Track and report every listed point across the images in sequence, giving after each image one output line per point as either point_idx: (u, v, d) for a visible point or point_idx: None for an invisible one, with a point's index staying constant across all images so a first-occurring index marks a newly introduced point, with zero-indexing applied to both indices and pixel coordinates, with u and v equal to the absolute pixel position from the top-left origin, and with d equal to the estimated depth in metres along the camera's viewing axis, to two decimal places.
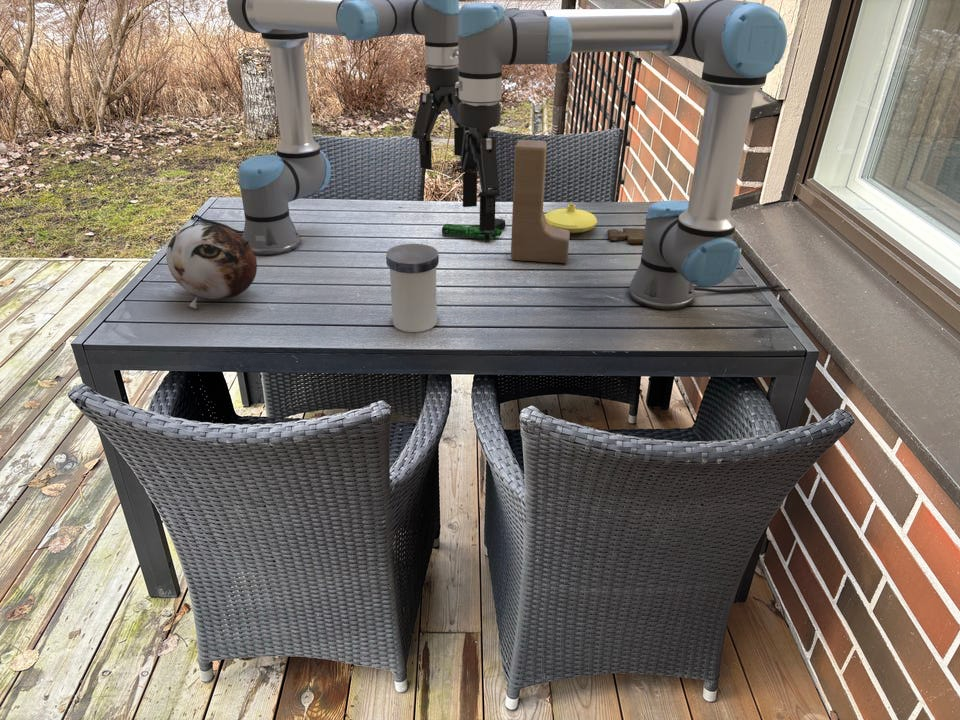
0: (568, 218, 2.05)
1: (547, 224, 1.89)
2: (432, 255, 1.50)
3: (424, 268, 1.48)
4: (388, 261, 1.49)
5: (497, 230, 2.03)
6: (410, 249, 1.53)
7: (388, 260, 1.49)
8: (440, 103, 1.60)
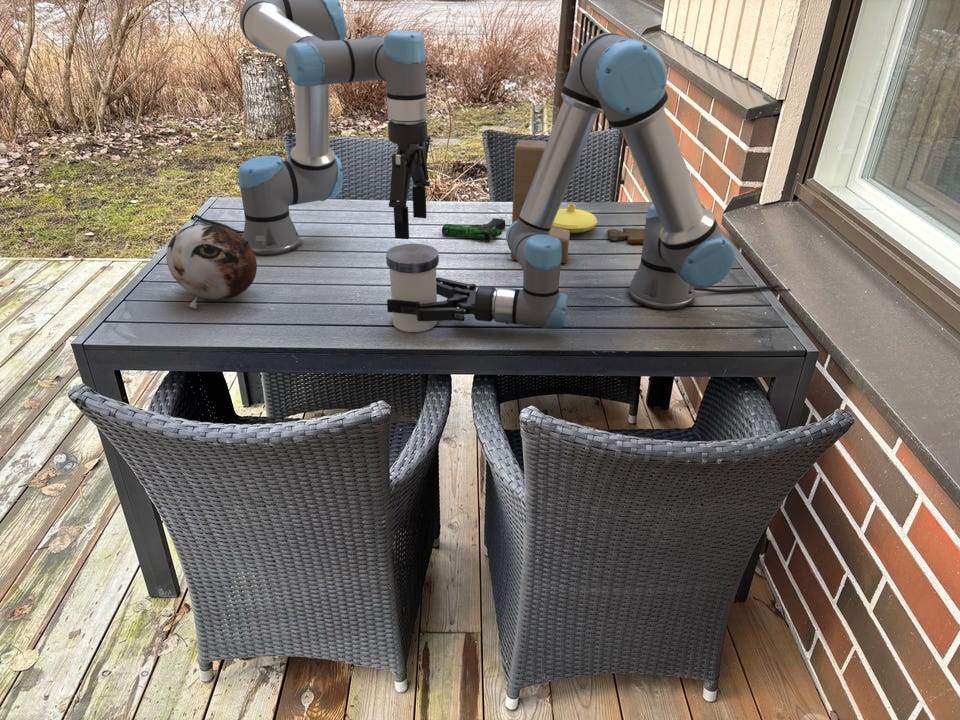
0: (568, 218, 2.05)
1: None
2: (432, 255, 1.50)
3: (424, 268, 1.48)
4: (388, 261, 1.49)
5: (497, 230, 2.03)
6: (410, 249, 1.53)
7: (388, 260, 1.49)
8: None
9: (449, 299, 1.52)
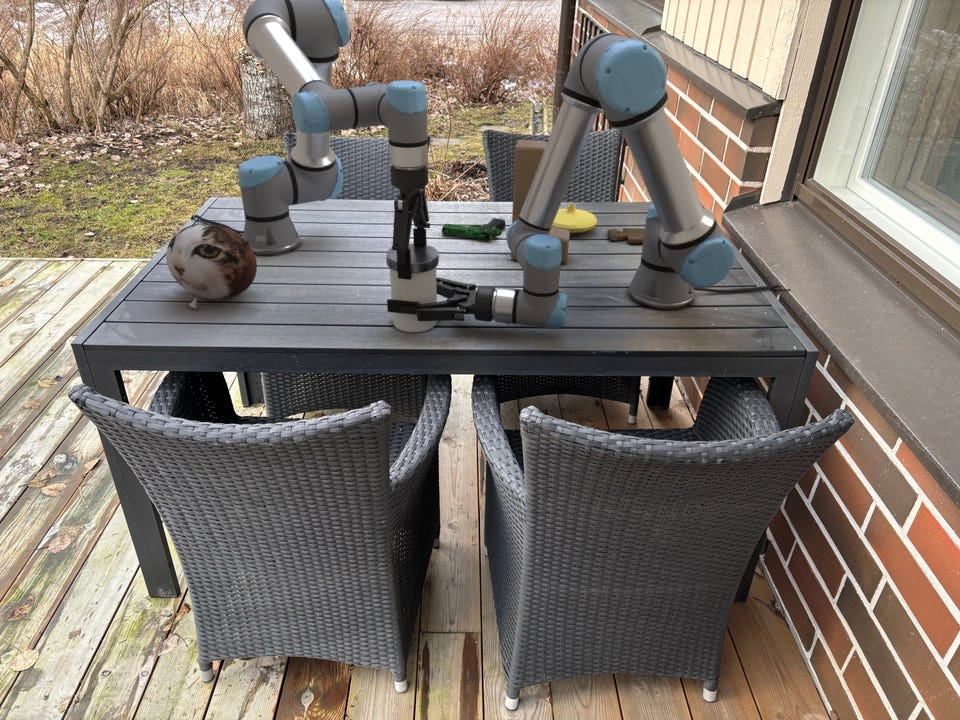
0: (568, 218, 2.05)
1: None
2: (432, 255, 1.50)
3: (424, 268, 1.48)
4: (388, 261, 1.49)
5: (497, 230, 2.03)
6: (410, 249, 1.53)
7: (388, 260, 1.49)
8: None
9: (449, 299, 1.52)
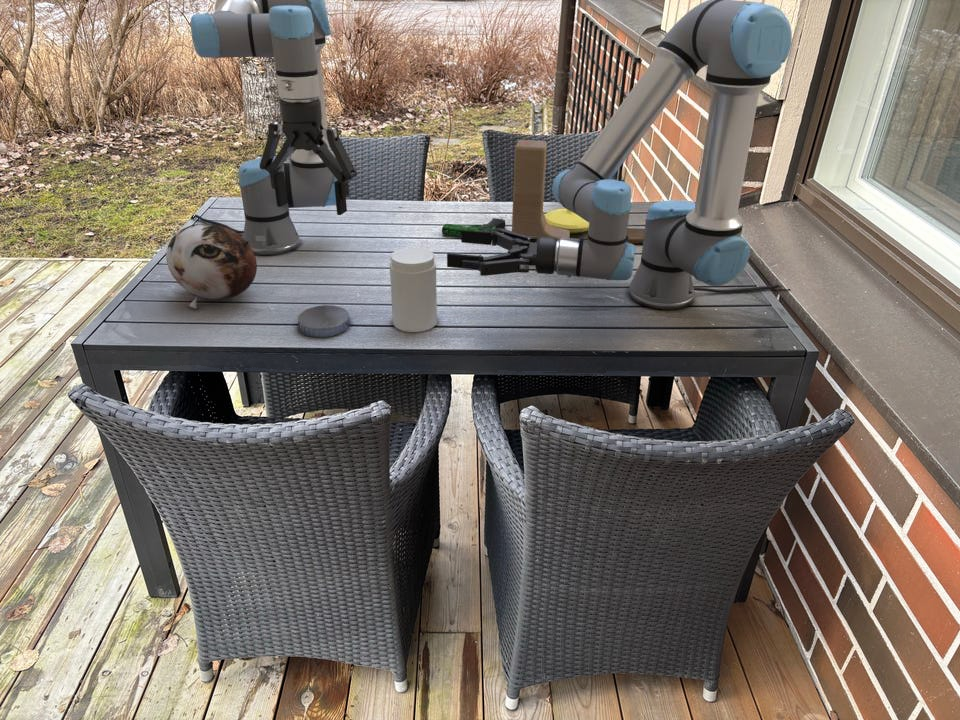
0: (568, 218, 2.05)
1: (547, 224, 1.89)
2: (307, 312, 1.58)
3: None
4: None
5: None
6: (321, 321, 1.54)
7: None
8: None
9: (510, 251, 1.43)
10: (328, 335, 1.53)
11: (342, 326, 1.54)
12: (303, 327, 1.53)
